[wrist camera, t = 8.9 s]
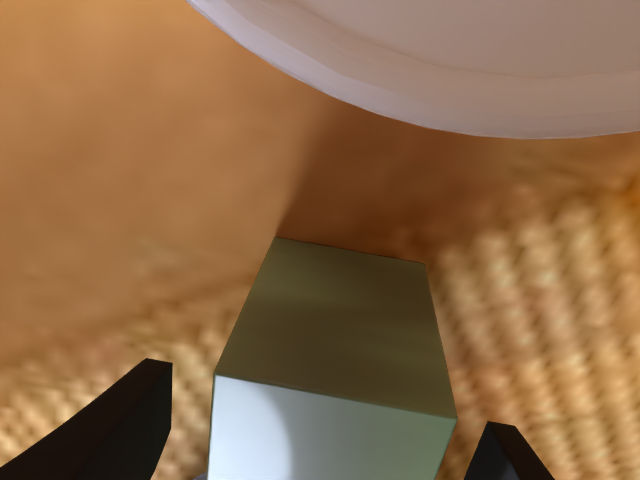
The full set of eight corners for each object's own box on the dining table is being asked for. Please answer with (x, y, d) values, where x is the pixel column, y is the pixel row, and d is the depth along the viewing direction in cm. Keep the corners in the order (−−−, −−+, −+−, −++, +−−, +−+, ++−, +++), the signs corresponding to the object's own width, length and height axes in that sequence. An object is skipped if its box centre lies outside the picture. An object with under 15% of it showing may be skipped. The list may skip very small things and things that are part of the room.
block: (425, 263, 14) (459, 418, 8) (392, 380, 16) (403, 568, 10) (274, 235, 14) (212, 372, 9) (259, 356, 16) (202, 529, 11)
